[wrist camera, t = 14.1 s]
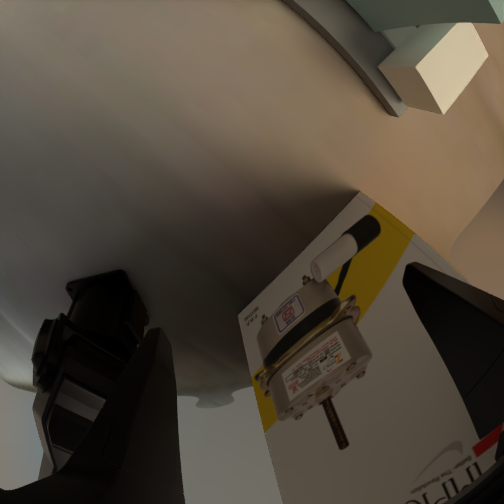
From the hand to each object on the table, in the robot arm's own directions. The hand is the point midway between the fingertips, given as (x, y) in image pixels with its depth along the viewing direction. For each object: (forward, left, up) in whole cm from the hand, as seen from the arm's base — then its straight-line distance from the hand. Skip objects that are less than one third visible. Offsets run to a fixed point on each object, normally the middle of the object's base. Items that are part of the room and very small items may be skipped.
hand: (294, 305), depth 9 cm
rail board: (+12, +14, -13) cm, 22 cm away
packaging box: (+9, -14, -13) cm, 21 cm away
